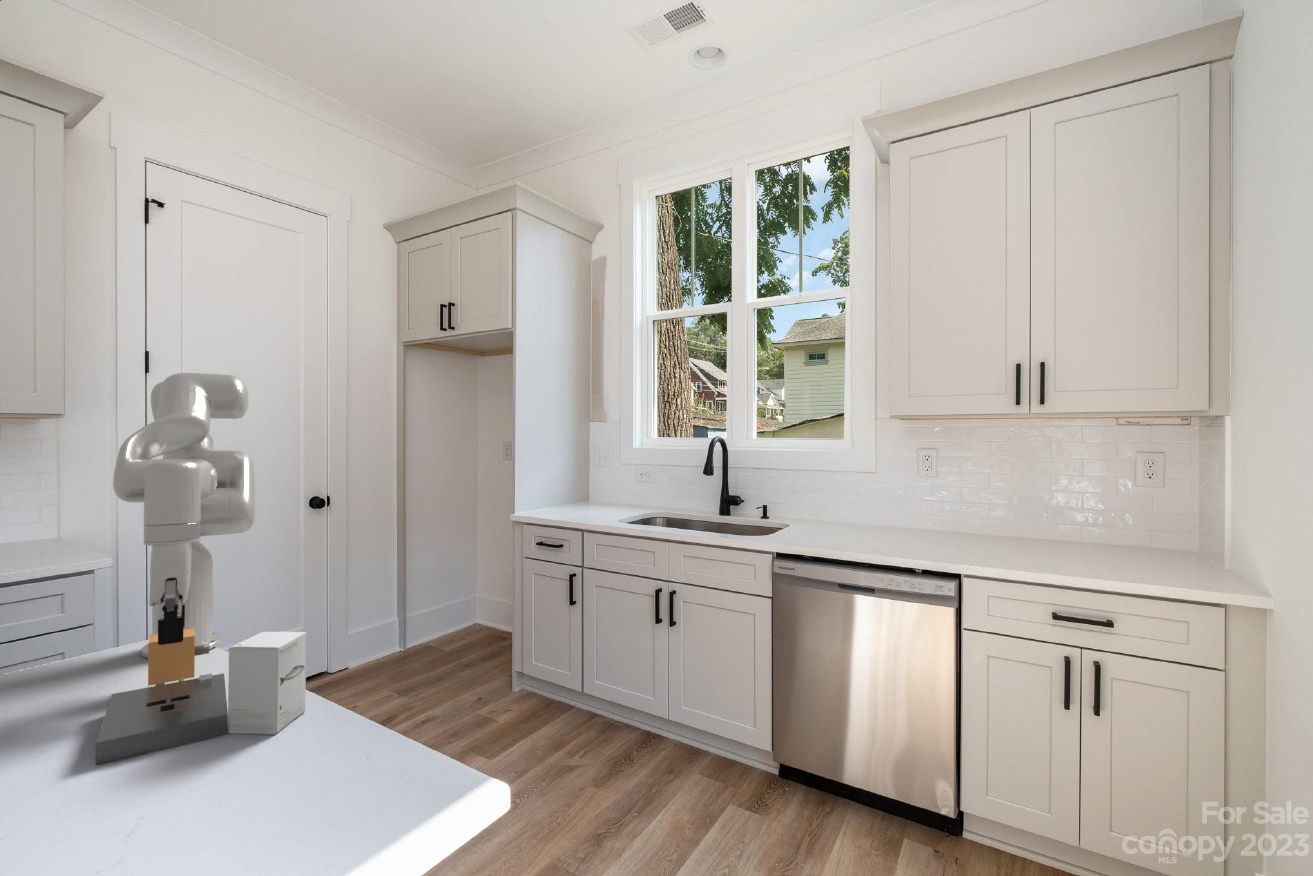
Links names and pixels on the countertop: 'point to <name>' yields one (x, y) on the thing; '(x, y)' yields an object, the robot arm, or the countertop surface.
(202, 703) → the dark gray rectangular board
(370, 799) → the countertop surface
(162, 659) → the orange block
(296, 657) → the supplement box
